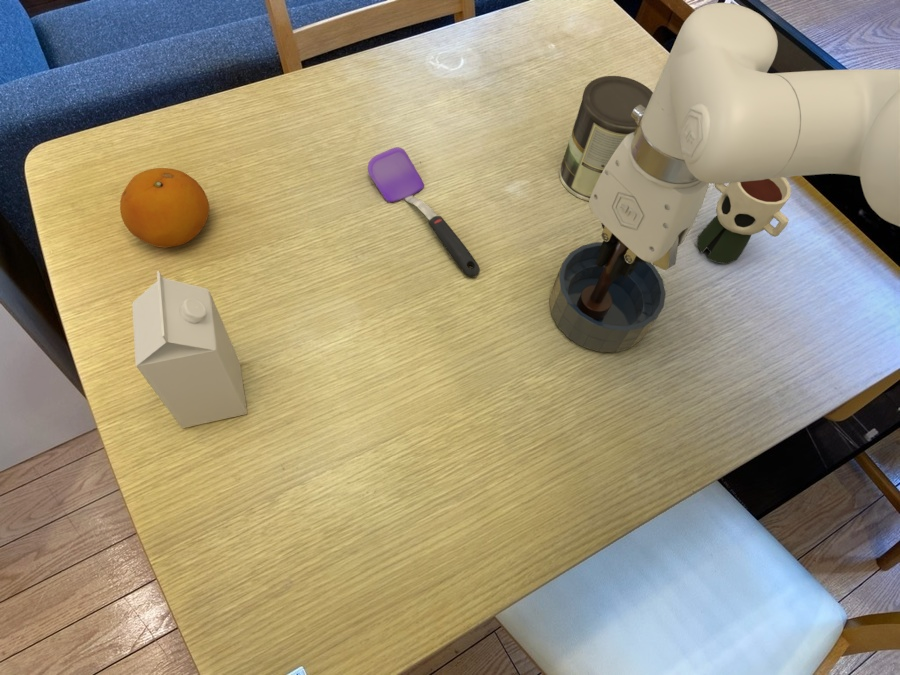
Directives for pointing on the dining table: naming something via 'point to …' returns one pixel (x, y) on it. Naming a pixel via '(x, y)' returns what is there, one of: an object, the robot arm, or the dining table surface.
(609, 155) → the coffee can
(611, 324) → the bowl
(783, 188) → the character mug
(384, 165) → the spatula
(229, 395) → the milk carton
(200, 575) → the dining table surface
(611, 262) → the brown wooden pestle
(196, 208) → the fruit
